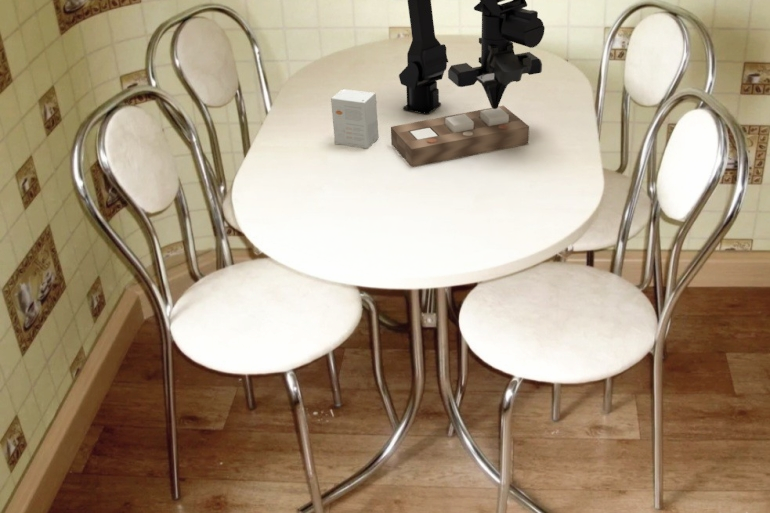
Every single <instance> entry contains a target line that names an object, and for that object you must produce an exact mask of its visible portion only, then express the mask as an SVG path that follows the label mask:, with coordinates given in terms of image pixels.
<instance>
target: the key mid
mask: <svg viewBox="0 0 770 513" xmlns="http://www.w3.org/2000/svg"><path fill="white" fill-rule="evenodd" d="M445 121H446V127H447V128H448V129H449V130H450V131H451V132H452V133H457V132H462V131H467V130H472V129H474V122H473V121H472V120H471V119H470V118H469V117H468V116H466V115H465V114H463V115H457V116H452V117H447V118H445Z"/></svg>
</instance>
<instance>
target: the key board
mask: <svg viewBox="0 0 770 513" xmlns="http://www.w3.org/2000/svg"><path fill="white" fill-rule="evenodd" d="M498 108H501V109H502V110H503V111H504V112H506V113H507V114H508V115H509V122H508V123H503V124H498V125H493V126H488V125H487V124H486V123H484V122H483V121H482V120H481V119H480V113H481V111H484V110H489V109H493V108H492V107H488V108H483V109H479V110H473V111H468V112H462V113H458V114H456V113H455V114H451V115H447V116H446V115H445V116H441V117H435V118H431V119H430V118H429V119H424V120H419V121H414V122H410V123H404V124H399V125H392V126H390V139H391V143H390V144H391V146H392V147H393V148H394V149H395V150H396V151H397V152H398V153H399V155H401V157H402V158H403V159H404V160H405V161H406V163H408V164H409V165H410V167H411V168H416V167H421V166H425V165H431V164H435V163H441V162H445V161H450V160H455V159H459V158H460V159H461V158H464V157H470V156H475V155H479V154H485V153H490V152H495V151H500V150H505V149H509V148H516V147H519V146H525V145H529V139H530V136H529V134H530V125H528V124H527V123H526V122H524V121H523V120H522V119H521V118H520V117H518V116H517V115H516V114H515V113H513V112H512V111H511V110H510V109H508V108H507V107H506V106H505V105H498ZM463 114H465V115H466V116H468V117H469V118H470V119H471V120H472V121H473V122H474V129H472V130H467V131H462V132H457V133H452V132H451V131H450V130H449V129H448V128H447V127H446V121H445V118H447V117H452V116H457V115H463ZM425 128H430V129H431V130H432V131H433V132H434V133H436V134H437V135H438V136H436V137H431V138H426V139H421V140H416V139H415V138H414V137H413V136H412V135H411V134H410V131H415V130H420V129H425Z"/></svg>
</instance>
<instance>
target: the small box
mask: <svg viewBox="0 0 770 513" xmlns="http://www.w3.org/2000/svg"><path fill="white" fill-rule="evenodd" d="M330 102H331V104H330V105H331V114H332V126H333V135H334V138H333V139H334V144H336V145H341V146H348V147H353V148H354V147H357V148H362V149H369V148H370V147H372V145H374V143H375V142H376V141H377V140H379V137H380V136H379V124H378V123H379V122H378V108H377V94H376V92H372V91H371V92H370V91H361V90H354V89H346V88H345V89H344V88H343V89H341V90H340V91H339V92H337V93H335V95H334V96H332V97H331V98H330Z"/></svg>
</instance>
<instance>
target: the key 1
mask: <svg viewBox="0 0 770 513" xmlns="http://www.w3.org/2000/svg"><path fill="white" fill-rule="evenodd" d="M410 134H411V135H412V136H413V137H414V138H415V139H416V140H421V139H426V138H431V137H436V136H438V135H437V134H436V133H434V132H433V131H432V130H431V129H430V128H425V129H420V130H415V131H410Z"/></svg>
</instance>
